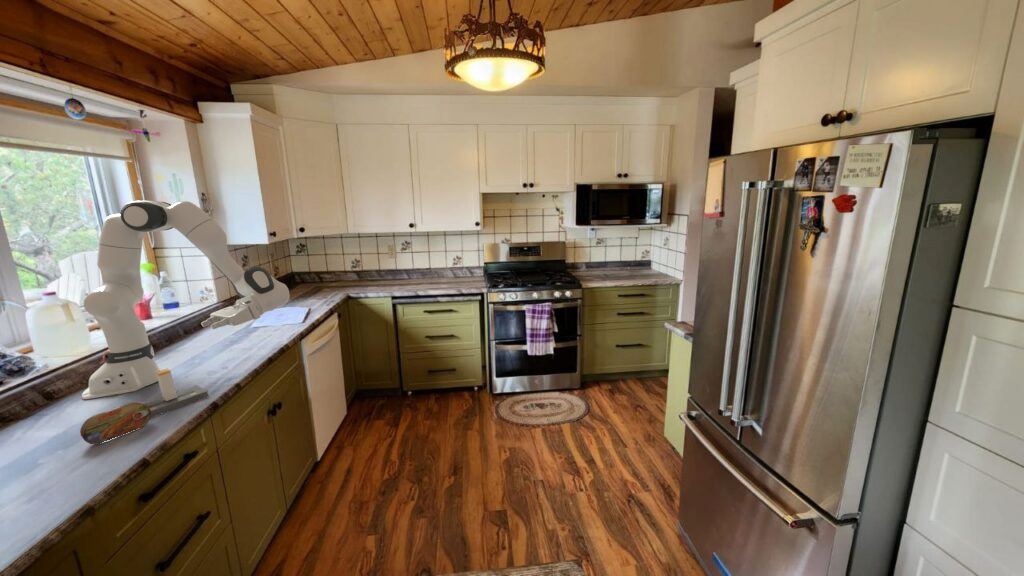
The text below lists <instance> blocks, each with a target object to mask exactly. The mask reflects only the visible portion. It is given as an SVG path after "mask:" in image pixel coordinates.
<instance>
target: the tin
mask: <svg viewBox="0 0 1024 576" xmlns="http://www.w3.org/2000/svg"><path fill="white" fill-rule="evenodd" d="M150 417H151V411H150V409H149V407H148V406H146V405H145V403H141V402H136V401H135V402H134V401H133V402H127V403H125V404H123V405H120V406H117V407H114V408H111V409H109V410H106V411H103V412H99V413H97V414H94V415H92V416H90V417H89V418H87V420H85V421H84V422H83V423H82V425H81V428H80V430H79V431H80V436H81V438H82V439H83V441H85V442H86V443H88V444H91V445H101V444H100V443H102V442H104V441H107V440H110V439H112V438H115V437H118V436H121V435H123V434H126V433H128V432H131V431H133V430H136V429H138V428H140V429H142V428H144V427H145V426H146V425H147V424H148V422H149V421H150V419H151V418H150ZM143 426H144V427H143ZM141 427H142V428H141ZM136 431H137V430H136ZM131 433H132V432H131ZM126 435H127V434H126ZM121 437H122V436H121Z"/></svg>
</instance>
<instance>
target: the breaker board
mask: <svg viewBox="0 0 1024 576" xmlns="http://www.w3.org/2000/svg"><path fill="white" fill-rule="evenodd" d="M176 394H177V398H174V399H171V400H168V401H165V400H164V399H163V397H159V398H157V399H153V400H150V401H148V402H145V403H144V404H145V405H146V406H148V407H149V409H150V411H151V417H152V418H154V416H155V417H157V416H160V415H162V414H161V413H163V414H165V413H167V411H168V412H170V411H173V410H175V408H176V409H178V408H180V406H181V407H184V406H186V405H188V404H191V402H192V403H193V402H194V403H195V402H197V401H199V399H200V400H202V399H204V398H208V397H209V392H208V390H206V389H204V387H203V388H202V387H201V386H199V385H197V384H196V385H193V386H191V387H187V388H184V389H181V390H179V391H176ZM207 396H208V397H207ZM183 405H184V406H183ZM164 412H165V413H164ZM159 414H160V415H159ZM156 415H157V416H156ZM151 417H150V419H151Z"/></svg>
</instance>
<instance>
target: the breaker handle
mask: <svg viewBox="0 0 1024 576" xmlns="http://www.w3.org/2000/svg"><path fill="white" fill-rule="evenodd" d="M156 375H157V379H158V381H157V382H158V385H159V390H160V393H161V396H162V397H163V399H164V400H165V401H168V400H171V399H174V398H177V394H176V392H177V390H176V387H175V383H174V379H173V375H172V371H171V369H169V368H164V369H160V371H157V372H156ZM162 397H161V398H162Z"/></svg>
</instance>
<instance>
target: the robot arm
mask: <svg viewBox="0 0 1024 576" xmlns="http://www.w3.org/2000/svg"><path fill="white" fill-rule="evenodd" d="M172 229H175V230H177V231H178V232H179V233H180V234H182V235H183V237H185V238H186V239H187V240H188V241H189V242H190V243H191V244H192V245H194V247H196V249H198V251H200V253H202V254H203V255H204V256H205V257H206V258H207V259H208V260H209V261H210V262H211V263H212V264H213V265H214V266H215V267H216V269H217V270H219V272H220V273H221V274H223V275H224V277H225V278H226V279H227V280H228V282H230V283H231V285H232V287H233V289H234V291H235V293H236V295H237V296H238V297H239V299H236V301H235V304H234V305H231V306H227V307H224V308H222V309H219V310H216V311H213V312H212V313H210V314H209V316H210V317H209V318H207V319H206V320H203V321H202V322H200V325H201V326H202V327H203V328H206V327H208V326H210V327H211V329H212V330H217V329H218V328H222V327H225V326H232V327H234V326H239V325H242V324H245V323H247V322H250V321H253V320H258V319H260V318H261V316H262V315H264V314H265V313H267V312H272V311H275V310H276V309H279V308H280V307H282V306H284V305H286V304H287V303H288V302H289V300H290V298H291V295H290V294H291V293H290V289H289V288H288V286H287V285H286V284H285V283H283V282H281V281H278V280H277V279H275V277H273V276H272V275H271V274H270V272H269V271H268V270H267V269H266V268H264V267H262V266H251V267H248V268H247V269H246V270H245V269H243V268H242V267H241V265H239V264H238V263H237V262H236V261H235V259H234V258H233V257H232V256H231V254H230V253H229V248H228V242H227V241H228V240H227V234H226V232H225V230H224V229H223V227H221V225H220V224H219V223H218V222H217V221H216V220H215V219H214V218H213V217H211V215H209V214H208V213H207V212H206V211H204V210H203V209H202V208H200V207H199V206H197V205H196V204H194V203H193V202H190V201H188V200H187V201H186V200H184V201H183V200H181V201H178V202H176V203H174V204H171V203H169V202H166V201H159V200H152V199H151V200H134V201H130V202H128V203H126V204H125V205H123V206H122V208H121V210H120V213H116V214H115V213H114V214H111V215H109V216H107V217H106V218H105V220H104V222H103V225H102V228H101V231H100V236H99V243H98V253H97V263H96V265H97V267H98V269H99V270H100V275H101V279H102V280H101V285H100V286H99V287H95V288H94V289H92V290H91V291H90V292H88V294H87V295H86V297H85V298H84V300H83V307H84V309H85V311H86V312H87V314H89V315H91V316H92V317H93V318H94V319H95V320H96V322H97V323H98V325H99V326H100V329H101V330H102V332H103V334H104V338H105V341H106V343H107V344H106V345H107V347H108V349H107V350H106V351H105V352H104V354H103V355H102V361H104V364H102V365H101V366H100V367H99V368H98V369H96V371H94V373H92V374H91V375H90V377H89V379H88V387H87V388H86V389H85V390H84V391H83V392H82V394H81V398H82V400H91V399H96V398H103V397H108V396H115V395H120V394H121V395H122V394H127V393H132V392H133V393H134V392H136V391H139V390H141V389H143V388H145V387H146V386H150V385H152V384H154V383H157V382H158V379H157V375H156V372H157V371H160V370H161V369H160V367H159V365H158V363H157V362H156V360H155V351H154V347H153V346H152V343H151V342H150V340H149V336H148V333H147V330H146V326H145V324H144V322H143V321H142V320H141V319H140V318H139V317H138V315H137V313H136V312H135V308H134V307H135V306H136V305H138V304H140V302H141V300H142V299H143V297H144V292H145V291H144V288H143V286H142V277H141V261H142V260H141V258H142V249H143V248H142V247H143V239H144V236H145V234H146V233H156V232H161V231H169V230H172Z"/></svg>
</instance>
